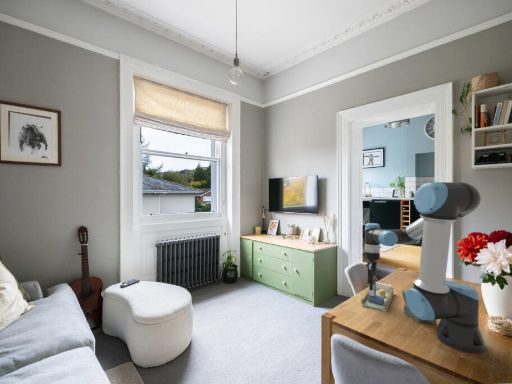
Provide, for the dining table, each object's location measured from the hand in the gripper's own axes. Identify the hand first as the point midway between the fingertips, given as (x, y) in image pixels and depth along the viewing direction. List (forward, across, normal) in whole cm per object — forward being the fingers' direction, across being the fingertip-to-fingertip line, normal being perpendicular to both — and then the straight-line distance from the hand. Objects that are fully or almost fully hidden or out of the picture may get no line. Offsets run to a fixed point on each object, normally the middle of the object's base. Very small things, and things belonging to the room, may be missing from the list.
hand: (372, 294), depth 137 cm
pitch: (+5, +6, -2) cm, 8 cm away
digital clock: (+5, -4, -21) cm, 22 cm away
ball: (+2, +10, -4) cm, 10 cm away
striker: (+3, 0, -2) cm, 4 cm away
